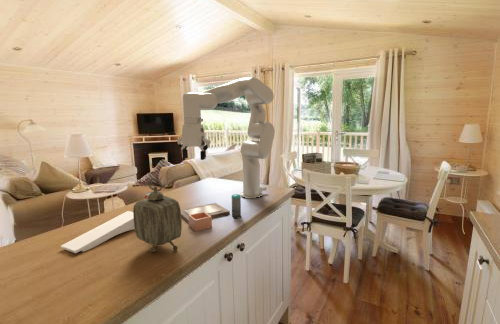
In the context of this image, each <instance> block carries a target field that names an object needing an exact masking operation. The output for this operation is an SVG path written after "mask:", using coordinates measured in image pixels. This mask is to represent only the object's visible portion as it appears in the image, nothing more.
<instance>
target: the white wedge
mask: <svg viewBox="0 0 500 324" xmlns="http://www.w3.org/2000/svg"><path fill="white" fill-rule="evenodd" d="M133 230H135V227H134V215H133V211H131V210H126V211H125V212H123V213H121V214H119V215H117V216H115V217H113V218H112V219H109V220H107V221H106V222H104V223H102V224H100V225H98V226H96V227H94V228H93V229H90V230H88V231H86V232H84V233H82V234H80V235H79V236H77V237H75V238H72V239H71V240H69V241H67V242H65V243H63V244H62V245H60V248H61V249H62V250H65V251H68V252H71V253H73V254H78V253H79V252H83V253H84V252H86V251H89V250H90V249H93V248H96V247H98V246H99V245H100V244H101V245H102V243H105V242H106V241H108V240H109V239H112V238H113V237H115V236H117V235H119V234H122V233H125V232H129V231H133Z"/></svg>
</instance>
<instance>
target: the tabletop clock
mask: <svg viewBox="0 0 500 324" xmlns="http://www.w3.org/2000/svg"><path fill="white" fill-rule="evenodd" d="M152 181H156V182H158V184H159V185H160V188H158V186H154V187H152V186H151V182H152ZM147 185H148V188H149V189H151V190H152V191H151V192H152V193H150V194H149V196H148V199H144V198H143V199H141V200H139V201H137V202H135V204H134V205H133V208H132V209H133V211H132V212H133V215H134V227H135V229H134V232H135V236H136V238H137V239H138V240H140V241H142V242H145V243H147V244H150V245H152V246H153V247H151V250H150V251H151V253H155V252H157V248H156V246H164V245H166V244H168V243H169V244H170V245H171V246H172V249H173V251H177V250H178V245H175V244H174V243H173V241H174V240H177V239H178V238H181V235H182V231H183V230H182V229H183V228H182V227H183V226H182V225H183V224H182V221H183V220H182V219H183V218H182V217H181V205H180V204H179V201H178V200H176V199H175V198H173V197H169V196H167V195H164V194H163V193H162V189H163V184H162V182H161V180H160V179H158V178H152V177H151V178H150V179H149V180H148V184H147Z"/></svg>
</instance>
